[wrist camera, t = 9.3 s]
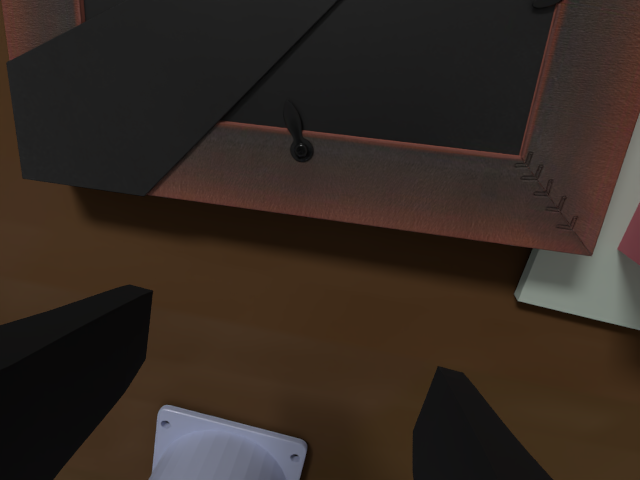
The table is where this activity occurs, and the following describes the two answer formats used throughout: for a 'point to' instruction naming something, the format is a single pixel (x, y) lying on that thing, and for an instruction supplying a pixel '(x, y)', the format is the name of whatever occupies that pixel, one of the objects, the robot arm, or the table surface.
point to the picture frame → (338, 108)
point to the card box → (632, 238)
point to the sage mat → (594, 262)
